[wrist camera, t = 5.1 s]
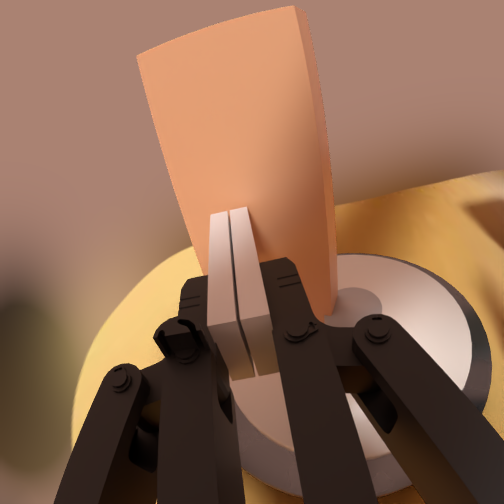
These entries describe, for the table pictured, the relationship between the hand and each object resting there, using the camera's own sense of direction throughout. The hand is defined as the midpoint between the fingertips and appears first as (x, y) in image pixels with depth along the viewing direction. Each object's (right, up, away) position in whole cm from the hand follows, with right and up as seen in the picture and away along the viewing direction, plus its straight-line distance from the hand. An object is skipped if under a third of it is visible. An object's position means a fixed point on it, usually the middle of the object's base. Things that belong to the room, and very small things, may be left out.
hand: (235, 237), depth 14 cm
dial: (+6, -6, +3) cm, 9 cm away
